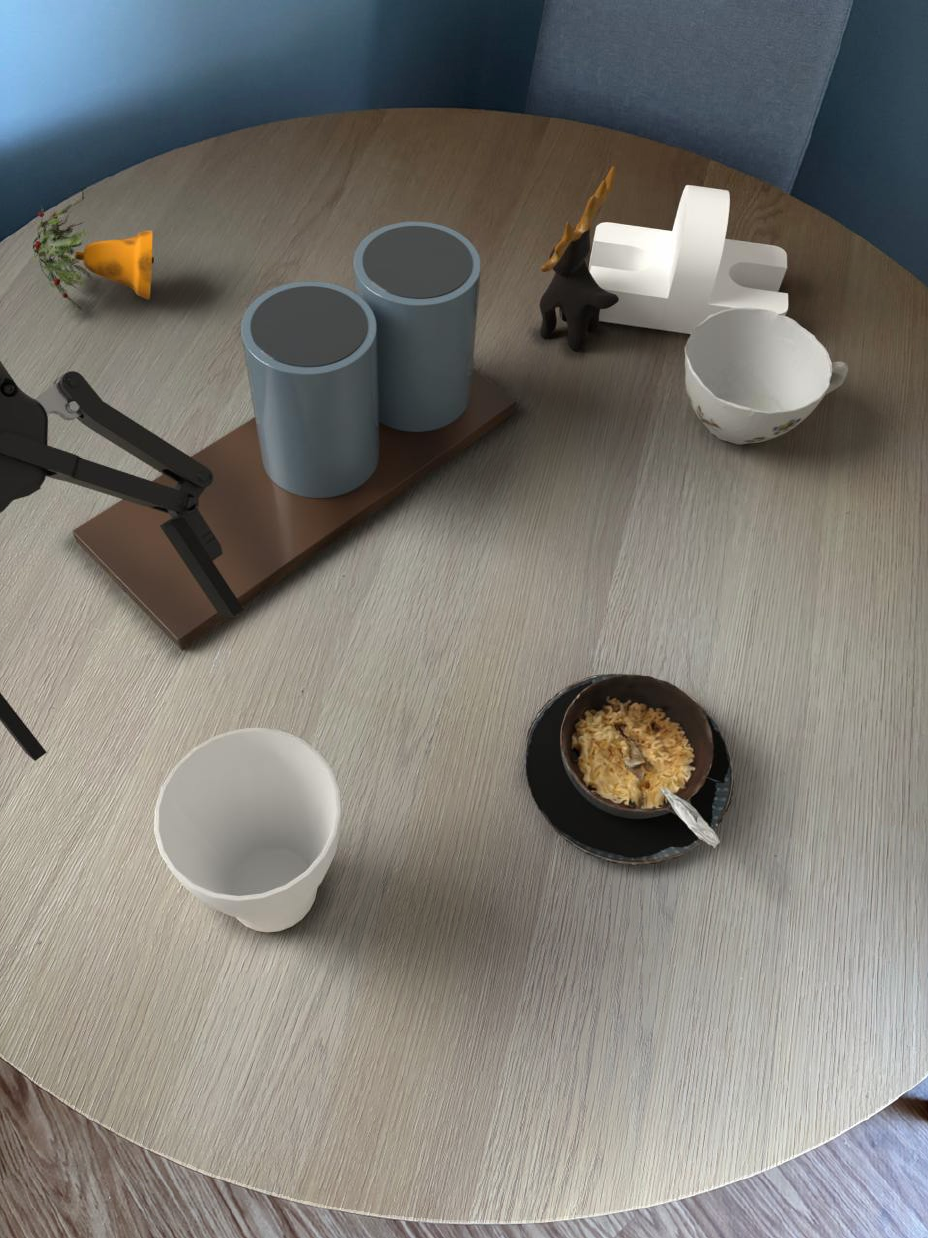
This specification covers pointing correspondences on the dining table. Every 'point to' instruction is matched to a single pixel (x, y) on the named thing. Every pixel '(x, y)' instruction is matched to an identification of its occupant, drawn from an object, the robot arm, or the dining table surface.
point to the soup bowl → (629, 769)
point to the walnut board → (265, 517)
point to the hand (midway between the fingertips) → (138, 680)
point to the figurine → (576, 279)
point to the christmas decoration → (96, 257)
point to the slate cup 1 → (314, 387)
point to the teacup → (756, 374)
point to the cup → (251, 825)
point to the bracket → (685, 268)
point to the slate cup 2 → (421, 320)
